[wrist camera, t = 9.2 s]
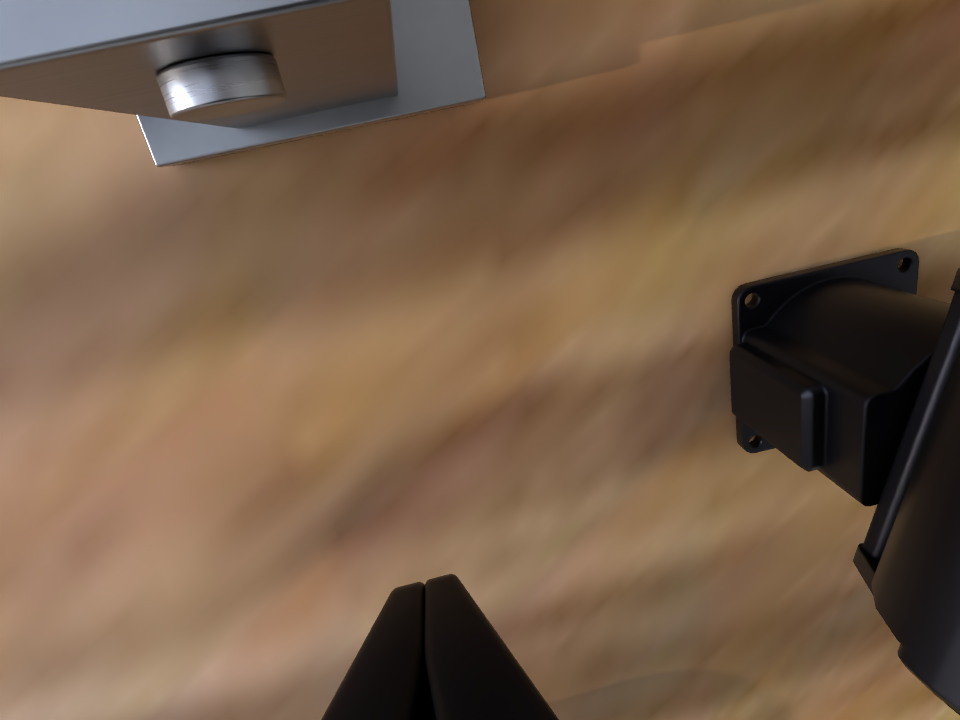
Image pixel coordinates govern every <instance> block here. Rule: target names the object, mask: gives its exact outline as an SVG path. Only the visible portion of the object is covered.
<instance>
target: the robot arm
mask: <svg viewBox="0 0 960 720" xmlns="http://www.w3.org/2000/svg"><path fill="white" fill-rule="evenodd" d="M902 259H903V262H902V265H901V266H900V267H899V268H898V265H899V262H900V261H901V260H902ZM918 267H919V257H918V255H917V253H916V252H914V251H912V250H908V249H903V248H897V249H892V250H888V251H884V252H879V253H875V254H871V255H866V256H862V257H858V258H853V259H849V260H845V261H840V262H836V263H832V264H827V265H823V266H819V267H814V268H810V269H806V270H801V271H797V272H793V273H788V274H784V275H780V276H775V277H771V278H767V279H762V280H758V281H754V282H749V283H745V284H743V285H740V286H739V287H738V288H737V289H736V290H735V291H734V293H733V295H732V326H733V347H732V349H731V351H730V377H731V401H732V413H733V414H734V415H735V416H736V429H737V442H738V444H739V445H740V446H741V447H742V448H743V449H744V450H745V451H747V452H749V453H757V452H761V451H765V450H769V449H773V448H777V449H778V450H779V451H781V452H782V453H783V454H784V455H786V456H787V457H788V458H789V459H791V460H792V461H793V462H794V463H796V464H797V465H798V466H800V467H801V468H803V469H804V470H806V471H808V472H809V471H813V470H818V471H820V472H821V473H822V474H824V475H825V476H826V477H828V478H829V479H830V480H831V481H833V482H834V483H835V484H837V485H838V486H839V487H841V488H842V489H843V490H844V491H846V492H847V493H848V494H850V495H851V496H852V497H854V498H855V499H856V500H857V501H859V502H860V503H861V504H863V505H864V506H873V505H876V504H878V505H877V508H876V510H875V513H874V516H873V519H872V521H871V524H870V527H869V530H868V532H867V535H866V538H865V541H864V543H861V544H859V545H858V548H857V550H856V553H855V556H854V559H853V562H854V564H855V566H856V567H857V569H858V571H859V572H860V574H861V576H862V577H863V579H864V581H865V582H866V584H867V586H868V587H869V589H870V591H871V592H872V594H873V596H874V601H875V606H876V609H877V610H878V612H879V613H880V615H881V616H882V618H883V619H884V621H885V622H886V624H887V625H888V627H889V628H890V630H891V631H892V633H893V634H894V636H895V637H896V639H897V640H898V641H899V642H900V643H901V645H900V647H899V649H898V656H899V658H900V659H901V661H902V662H903V663H904V665H905V666H906V667H907V669H908V670H909V671H910V672H911V673H912V674H914V675H915V676H916V677H917V678H918V679H919V680H920V681H921V682H922V683H923V684H924V685H925V686H926V687H927V688H928V689H930V690H931V691H932V692H933V693H934V694H935V695H936V696H937V697H938V698H940V699H941V700H942V701H944V702H945V703H946V704H947V705H948V706H949V707H950V708H951V709H953V710H954V711H955V712H956V713H958V714H959V715H960V268H958V270H957V273H956V276H955V279H954V282H953V284H952V287H951V290H953V291H955V293H954V296H953V299H952V302H951V304H948V303H944V302H941V301H937V300H934V299H930V298H926V297H923V296H919V295H916V291H917V279H918ZM751 293H752V300H751V301H750V302H749V303H748V304H746V305H745V298H746V297H747V296H748V295H749V294H751ZM755 435H756V437H755V439H754V440H753V441H751V442H749V440H750V439H751V437H753V436H755ZM321 720H559V719H558V718H557V716H556V715H555V714H554V712H553V711H552V709H551V708H550V707H549V705H548V704H547V702H546V701H545V700H544V698H543V697H542V695H541V694H540V692H539V691H538V690H537V688H536V687H535V685H534V684H533V683H532V681H531V680H530V678H529V677H528V676H527V674H526V673H525V671H524V670H523V669H522V667H521V666H520V664H519V663H518V662H517V660H516V659H515V657H514V656H513V655H512V653H511V652H510V650H509V649H508V648H507V646H506V645H505V643H504V642H503V640H502V639H501V638H500V636H499V635H498V633H497V632H496V631H495V629H494V628H493V626H492V625H491V624H490V622H489V621H488V619H487V618H486V617H485V615H484V614H483V612H482V611H481V610H480V608H479V607H478V605H477V604H476V603H475V601H474V600H473V598H472V597H471V596H470V594H469V593H468V591H467V590H466V589H465V587H464V586H463V584H462V583H461V581H460V580H459V579H458V577H457V576H456V575H454V574H449V575H445V576H441V577H437V578H433V579H429V580H428V581H427V582H426V584H425V585H424V584H423V583H422V582H417V583H413V584H409V585H405V586H401V587H397V588H395V589H394V590H393V591H392V592H391V594H390V596H389V597H388V599H387V601H386V603H385V605H384V606H383V608H382V610H381V612H380V614H379V616H378V617H377V619H376V621H375V623H374V625H373V627H372V628H371V630H370V632H369V634H368V636H367V637H366V639H365V641H364V643H363V645H362V647H361V648H360V650H359V652H358V654H357V656H356V658H355V659H354V661H353V663H352V665H351V667H350V668H349V670H348V672H347V674H346V676H345V678H344V679H343V681H342V683H341V685H340V687H339V688H338V690H337V692H336V694H335V696H334V698H333V699H332V701H331V703H330V705H329V707H328V709H327V710H326V712H325V714H324V716H323V718H322V719H321Z"/></svg>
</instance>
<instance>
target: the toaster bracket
mask: <svg viewBox="0 0 960 720" xmlns="http://www.w3.org/2000/svg"><path fill="white" fill-rule="evenodd" d="M0 96H2V97H9V98H17V99H24V100H31V101H39V102H46V103H53V104H61V105H68V106H75V107H83V108H90V109H97V110H105V111H112V112H119V113H127V114H134V115H137V118H138V121H139V123H140V126H141V128H142V131H143V134H144V136H145V139H146V141H147V144H148V147H149V149H150V152H151V154H152V157H153V160H154V162H155V165H156V166H158V167H163V166H175V165H180V164H185V163H190V162H194V161H199V160H204V159H209V158H213V157H218V156H223V155H228V154H232V153H237V152H242V151H247V150H251V149H256V148H261V147H266V146H270V145H275V144H280V143H285V142H289V141H294V140H299V139H304V138H308V137H313V136H318V135H323V134H327V133H332V132H337V131H342V130H347V129H351V128H356V127H361V126H366V125H370V124H375V123H380V122H385V121H389V120H394V119H399V118H404V117H408V116H413V115H418V114H423V113H427V112H432V111H437V110H442V109H446V108H451V107H456V106H461V105H465V104H470V103H475V102H479V101H481V100H482V99H484V98H485V97H486V93H485V88H484V82H483V77H482V71H481V65H480V60H479V54H478V48H477V43H476V37H475V31H474V26H473V20H472V14H471V9H470V3H469V0H0Z"/></svg>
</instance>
